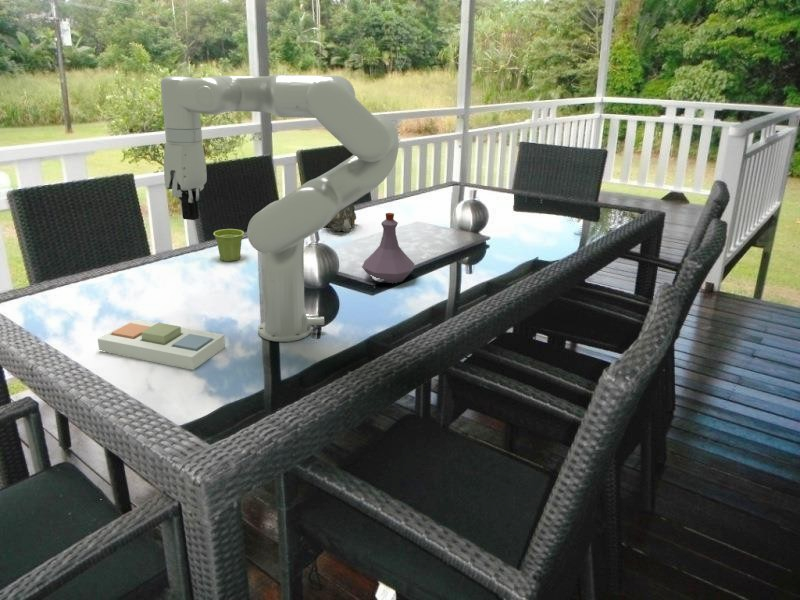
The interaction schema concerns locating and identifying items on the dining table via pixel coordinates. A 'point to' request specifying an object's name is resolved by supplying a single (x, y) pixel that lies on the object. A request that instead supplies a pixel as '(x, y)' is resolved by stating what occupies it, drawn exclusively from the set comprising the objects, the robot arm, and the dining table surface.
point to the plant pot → (229, 243)
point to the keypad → (162, 347)
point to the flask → (389, 256)
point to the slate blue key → (192, 342)
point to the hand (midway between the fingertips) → (190, 218)
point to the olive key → (161, 333)
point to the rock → (343, 219)
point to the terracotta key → (130, 331)
